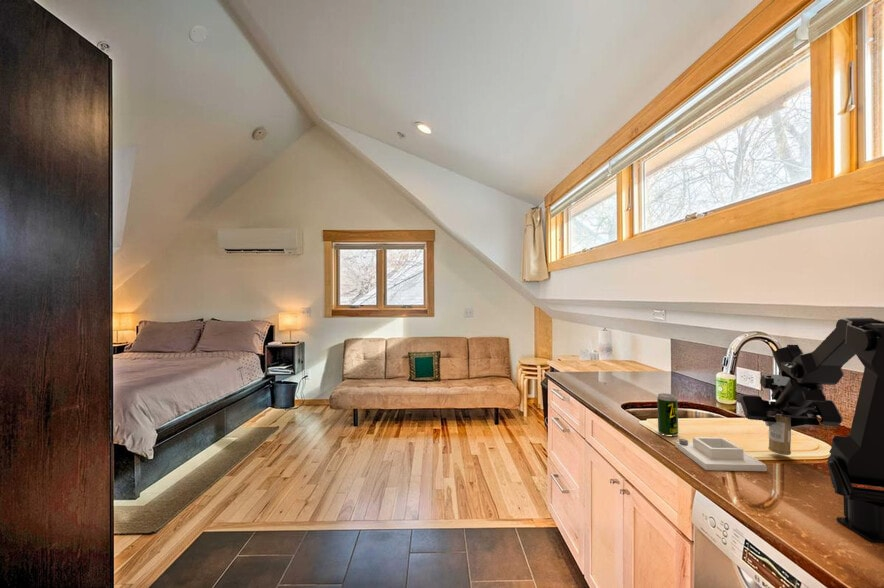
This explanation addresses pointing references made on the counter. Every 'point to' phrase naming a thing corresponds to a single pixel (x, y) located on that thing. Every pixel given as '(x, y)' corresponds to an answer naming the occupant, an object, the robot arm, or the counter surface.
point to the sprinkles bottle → (780, 435)
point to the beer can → (667, 414)
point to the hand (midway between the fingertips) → (777, 425)
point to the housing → (719, 454)
